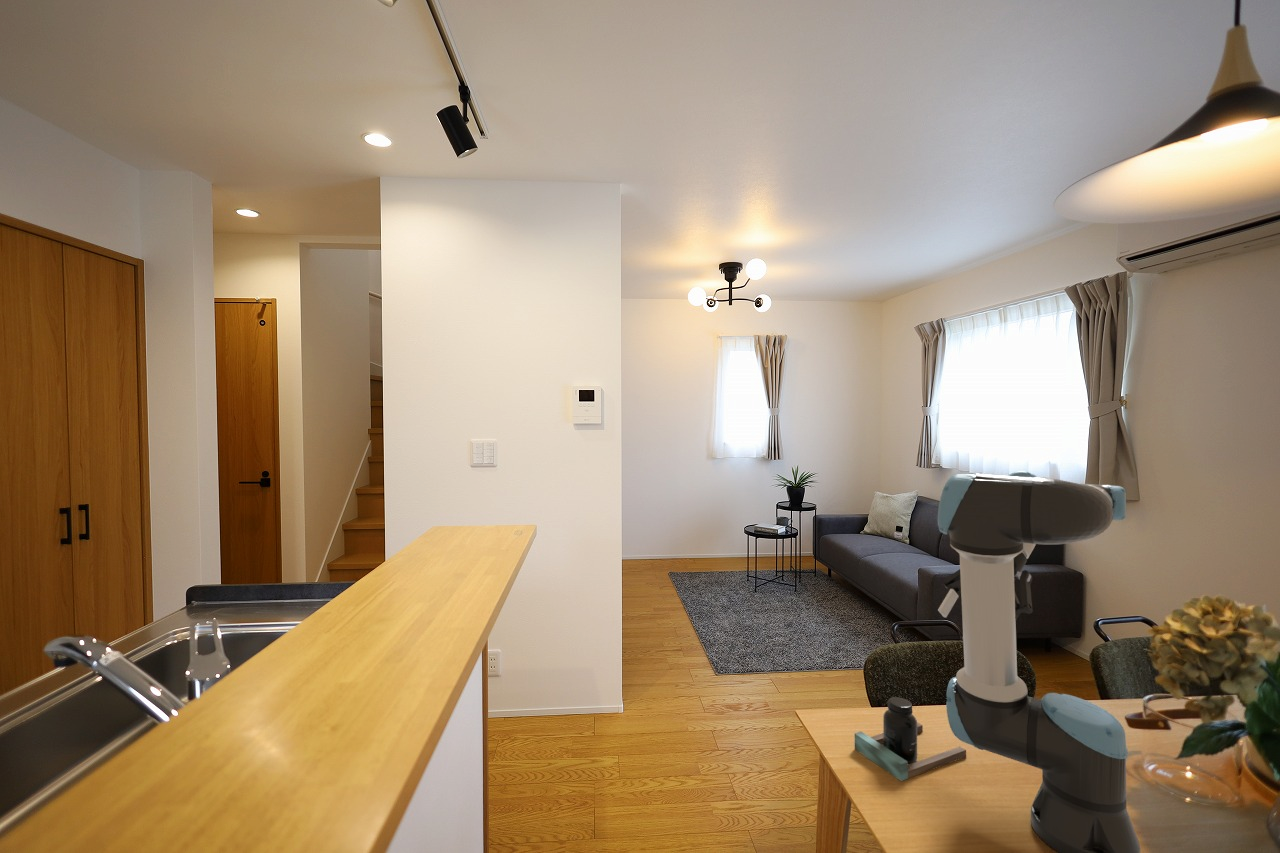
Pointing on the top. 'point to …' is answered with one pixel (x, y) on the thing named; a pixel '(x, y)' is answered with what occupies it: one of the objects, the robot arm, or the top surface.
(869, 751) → the channel
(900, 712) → the supplement bottle
